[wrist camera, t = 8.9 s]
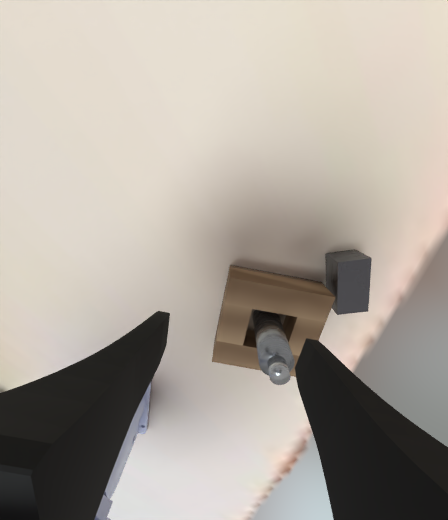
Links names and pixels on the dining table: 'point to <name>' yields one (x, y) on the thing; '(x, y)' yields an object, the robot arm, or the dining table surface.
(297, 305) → the socket block
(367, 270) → the square bar
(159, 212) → the dining table surface
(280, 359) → the round bit
